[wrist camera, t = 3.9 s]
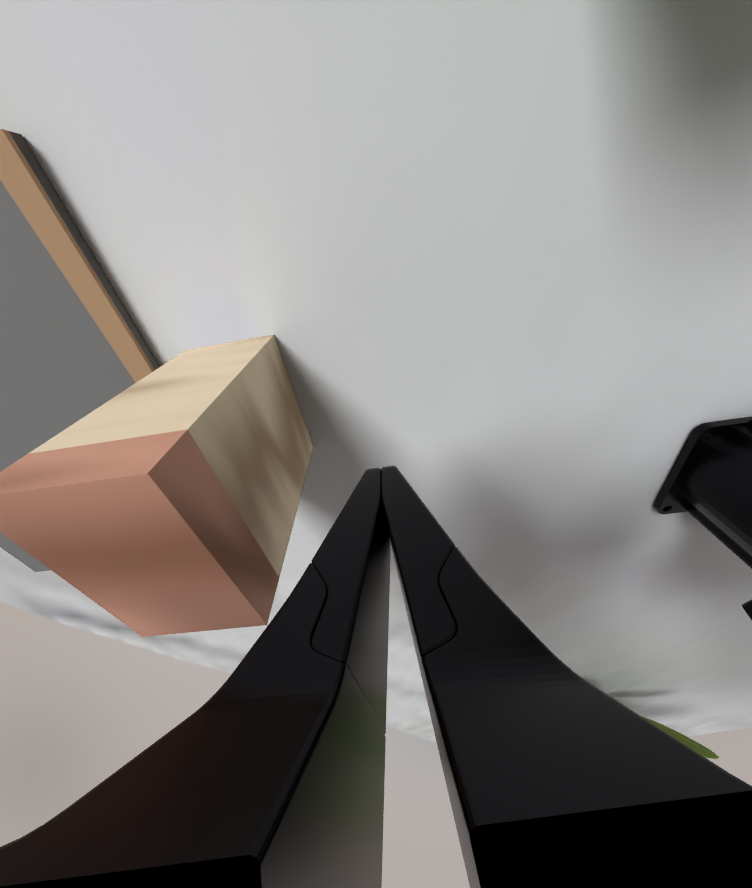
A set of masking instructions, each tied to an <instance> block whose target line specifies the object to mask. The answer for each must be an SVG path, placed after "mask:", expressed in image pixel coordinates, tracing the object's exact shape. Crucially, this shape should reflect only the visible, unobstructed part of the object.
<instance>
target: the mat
mask: <svg viewBox="0 0 752 888" xmlns="http://www.w3.org/2000/svg"><path fill="white" fill-rule="evenodd" d="M159 367H160V366H159V364H158V363H157V361H156V359H155V358H154V356H153V354H152V353H151V351H150V349H149V348H148V346H147V344H146V343H145V341H144V339H143V338H142V336H141V334H140V333H139V331H138V329H137V327H136V326H135V324H134V322H133V321H132V319H131V317H130V316H129V314H128V312H127V311H126V309H125V307H124V306H123V304H122V302H121V301H120V299H119V297H118V296H117V294H116V292H115V291H114V289H113V287H112V286H111V284H110V282H109V281H108V279H107V277H106V276H105V274H104V272H103V271H102V269H101V267H100V266H99V264H98V262H97V261H96V259H95V257H94V256H93V254H92V252H91V250H90V249H89V247H88V245H87V244H86V242H85V240H84V239H83V237H82V235H81V234H80V232H79V230H78V229H77V227H76V225H75V224H74V222H73V220H72V219H71V217H70V215H69V214H68V212H67V210H66V209H65V207H64V205H63V204H62V202H61V200H60V199H59V197H58V195H57V194H56V192H55V190H54V189H53V187H52V185H51V184H50V182H49V180H48V179H47V177H46V175H45V174H44V172H43V170H42V168H41V167H40V165H39V163H38V162H37V160H36V158H35V157H34V155H33V153H32V152H31V150H30V148H29V147H28V145H27V143H26V142H25V140H24V138H23V137H22V135H21V134H18V133H14V132H10V131H6V130H3V129H1V130H0V472H1V471H2V470H4V469H5V468H7V467H9V466H10V465H12V464H13V463H15V462H16V461H18V460H19V459H21V458H22V457H24V456H25V455H27V454H28V453H30V452H31V451H33V450H34V449H36V448H37V447H39V446H41V445H42V444H44V443H45V442H47V441H48V440H50V439H51V438H53V437H54V436H56V435H57V434H59V433H60V432H62V431H63V430H65V429H66V428H68V427H69V426H71V425H73V424H74V423H76V422H77V421H79V420H80V419H82V418H83V417H85V416H86V415H88V414H89V413H91V412H92V411H94V410H95V409H97V408H98V407H100V406H101V405H103V404H105V403H106V402H108V401H109V400H111V399H112V398H114V397H115V396H117V395H118V394H120V393H121V392H123V391H124V390H126V389H127V388H129V387H130V386H132V385H133V384H135V383H137V382H138V381H140V380H141V379H143V378H144V377H146V376H147V375H149V374H150V373H152V372H153V371H155V370H156V369H158V368H159ZM0 547H1V548H2V549H4V550H5V551H7V552H8V553H9V554H11V555H12V556H14V557H15V558H17V559H18V560H19V561H21V562H22V563H24V564H25V565H27V566H28V567H29V568H31V569H32V570H34V571H35V572H38V571H47V570H51V569H49V568H48V567H47V566H45V565H44V564H43V563H41V562H40V561H38V560H37V559H36V558H34V557H33V556H32V555H30V554H29V553H28V552H26V551H25V550H24V549H22V548H21V547H19V546H18V545H17V544H15V543H14V542H13V541H11V540H10V539H9V538H7V537H6V536H4V535H3V534H2V533H0Z"/></svg>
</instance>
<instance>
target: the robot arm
mask: <svg viewBox="0 0 752 888" xmlns="http://www.w3.org/2000/svg"><path fill="white" fill-rule="evenodd" d="M653 507H654V509H655V510H656V511H657V512H658V513H660V514H670V513H679V512H689V513H690V514H691V515H692V516H693V517H695V518H696V519H697V520H698V521H699V522H700V523H701V524H702V525H703V526H705V527H706V528H707V529H708V530H709V531H710V532H711V533H712V534H714V535H715V536H716V537H717V538H718V539H719V540H720V541H721V542H723V543H724V544H725V545H726V546H727V547H728V548H729V549H730V550H732V551H733V552H734V553H735V554H736V555H737V556H738V557H739V558H740V559H742V560H743V561H744V562H745V563H746V564H747V565H748V566H749V567H751V568H752V417H745V418H738V419H730V420H723V421H716V422H708V423H704V424H701V425H699V426H698V427H696V428H695V429H694V430H693V432H692V434H691V435H690V437H689V439H688V441H687V443H686V445H685V447H684V449H683V451H682V452H681V454H680V456H679V458H678V460H677V462H676V464H675V466H674V468H673V470H672V471H671V473H670V475H669V477H668V479H667V481H666V483H665V485H664V487H663V488H662V490H661V492H660V494H659V496H658V498H657V500H656V502H655V504H654V506H653ZM390 540H391V545H392V550H393V554H394V559H395V563H396V567H397V572H398V576H399V580H400V585H401V589H402V593H403V598H404V602H405V606H406V611H407V615H408V619H409V624H410V628H411V632H412V637H413V641H414V645H415V650H416V654H417V658H418V663H419V667H420V671H421V676H422V680H423V685H424V689H425V693H426V698H427V702H428V706H429V711H430V715H431V719H432V724H433V728H434V732H435V737H436V741H437V745H438V750H439V754H440V758H441V763H442V767H443V771H444V776H445V780H446V784H447V788H448V792H449V797H450V802H451V806H452V810H453V814H454V819H455V823H456V828H457V832H458V836H459V841H460V845H461V850H462V854H463V858H464V862H465V867H466V871H467V875H468V880H469V884H470V888H752V786H750V785H749V784H747V783H745V782H744V781H742V780H740V779H738V778H737V777H735V776H733V775H732V774H730V773H728V772H727V771H725V770H723V769H722V768H720V767H719V766H717V765H716V764H714V763H713V762H711V761H709V760H708V759H706V758H705V757H703V756H702V755H700V754H699V753H697V752H695V751H694V750H692V749H691V748H689V747H688V746H686V745H685V744H683V743H681V742H680V741H678V740H677V739H675V738H674V737H672V736H671V735H669V734H667V733H666V732H664V731H663V730H661V729H660V728H658V727H657V726H655V725H653V724H652V723H650V722H649V721H647V720H646V719H644V718H643V717H641V716H639V715H638V714H636V713H635V712H633V711H632V710H630V709H629V708H627V707H625V706H624V705H622V704H621V703H619V702H618V701H616V700H614V699H613V698H611V697H610V696H608V695H607V694H605V693H604V692H602V691H600V690H599V689H597V688H596V687H594V686H593V685H591V684H590V683H588V682H587V681H585V680H584V679H583V678H581V677H580V676H578V675H577V674H576V673H574V672H573V671H572V670H571V669H570V668H568V667H567V666H566V665H565V664H564V663H563V662H562V661H561V660H559V659H558V658H557V657H556V656H555V655H554V654H553V653H552V652H551V651H550V650H549V649H548V648H547V647H546V646H545V645H544V644H543V643H542V642H541V641H540V640H539V639H538V638H537V637H536V636H535V634H534V633H533V632H532V631H531V630H530V629H529V628H528V627H527V626H526V625H525V624H524V623H523V622H522V621H521V620H520V619H519V618H518V617H517V616H516V615H515V614H514V613H513V612H512V611H511V609H510V608H509V607H508V606H507V605H506V604H505V603H504V602H503V601H502V600H501V599H500V598H499V597H498V596H497V595H496V594H495V593H494V592H493V590H492V589H491V588H490V587H489V586H488V585H487V584H486V583H485V582H484V581H483V579H482V578H481V577H480V576H479V575H478V574H477V572H476V571H475V570H474V569H473V567H472V566H471V565H470V564H469V562H468V561H467V560H466V559H465V557H464V556H463V555H462V553H461V552H460V551H459V549H458V548H457V547H455V544H454V543H453V542H452V540H451V539H450V538H449V536H448V535H447V534H446V532H445V531H444V530H443V528H442V527H441V526H440V524H439V523H438V522H437V520H436V519H435V518H434V516H433V515H432V514H431V512H430V511H429V510H428V508H427V507H426V506H425V504H424V503H423V502H422V500H421V499H420V498H419V496H418V495H417V494H416V492H415V491H414V490H413V488H412V487H411V486H410V485H409V483H408V482H407V481H406V479H405V478H404V477H403V475H402V474H401V473H400V471H399V470H398V469H397V467H396V466H388V467H383V468H382V469H380V468H373V469H367V470H366V471H365V473H364V475H363V476H362V478H361V480H360V481H359V483H358V485H357V486H356V488H355V490H354V491H353V493H352V495H351V496H350V498H349V500H348V501H347V503H346V505H345V506H344V508H343V509H342V511H341V513H340V514H339V516H338V518H337V519H336V521H335V523H334V524H333V526H332V528H331V529H330V531H329V533H328V534H327V536H326V538H325V539H324V541H323V543H322V544H321V546H320V548H319V549H318V551H317V553H316V554H315V556H314V558H313V559H312V563H310V564H309V566H308V567H307V569H306V571H305V572H304V574H303V576H302V577H301V579H300V580H299V582H298V584H297V585H296V587H295V588H294V590H293V591H292V593H291V594H290V596H289V597H288V599H287V600H286V602H285V603H284V604H283V606H282V607H281V609H280V610H279V611H278V613H277V614H276V616H275V617H274V618H273V620H272V621H271V622H270V624H269V625H268V626H267V628H266V629H265V630H264V632H263V633H262V634H261V636H260V637H259V638H258V640H257V641H256V643H255V644H254V645H253V647H252V648H251V649H250V651H249V652H248V653H247V655H246V656H245V657H244V659H243V660H242V661H241V663H240V664H239V665H238V667H237V668H236V669H235V671H234V672H233V673H232V675H231V676H230V677H229V678H228V680H227V681H226V682H225V683H224V684H223V686H222V687H221V688H220V689H219V690H218V691H217V692H216V693H215V694H214V695H213V696H212V697H211V698H210V700H208V701H207V702H206V703H205V704H204V705H203V706H202V707H201V708H200V709H199V710H197V711H196V712H195V713H194V714H192V715H191V716H190V717H188V718H187V719H186V720H184V721H183V722H182V723H180V724H179V725H178V726H176V727H175V728H174V729H172V730H171V731H170V732H168V733H167V734H166V735H165V736H163V737H162V738H161V739H159V740H158V741H156V742H155V743H154V744H152V745H151V746H150V747H148V748H147V749H146V750H144V751H143V752H142V753H140V754H139V755H138V756H136V757H135V758H134V759H132V760H131V761H130V762H128V763H127V764H126V765H124V766H123V767H122V768H120V769H119V770H118V771H116V772H115V773H114V774H112V775H111V776H110V777H108V778H107V779H106V780H104V781H103V782H102V783H100V784H99V785H98V786H96V787H95V788H93V789H92V790H91V791H89V792H88V793H87V794H86V795H84V796H83V797H81V798H80V799H79V800H77V801H76V802H75V803H73V804H72V805H71V806H69V807H68V808H67V809H65V810H64V811H62V812H61V813H60V814H58V815H57V816H55V817H54V818H52V819H51V820H49V821H48V822H47V823H45V824H44V825H42V826H40V827H39V828H37V829H35V830H34V831H32V832H30V833H29V834H27V835H25V836H23V837H21V838H20V839H17V840H15V841H13V842H11V843H8V844H6V845H4V846H2V847H0V888H381V882H382V845H383V843H382V842H383V809H384V772H385V732H386V697H387V660H388V623H389V586H390ZM742 607H743V609H744V610H745V611H746V613H747V614H748V615H749V617H750V618H751V620H752V600H750V601H748V602H746V603H744V604H742Z"/></svg>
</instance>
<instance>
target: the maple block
mask: <svg viewBox="0 0 752 888" xmlns="http://www.w3.org/2000/svg"><path fill="white" fill-rule="evenodd" d="M312 451H313V444H312V442H311V439H310V436H309V433H308V430H307V427H306V424H305V422H304V419H303V416H302V413H301V410H300V407H299V404H298V401H297V399H296V396H295V393H294V390H293V387H292V384H291V381H290V379H289V376H288V373H287V370H286V367H285V364H284V361H283V358H282V356H281V353H280V350H279V347H278V344H277V341H276V338H275V335H269V336H263V337H257V338H252V339H246V340H240V341H234V342H229V343H223V344H217V345H212V346H206V347H200V348H194V349H189V350H185V351H184V352H182V353H181V354H179V355H178V356H176V357H175V358H173V359H172V360H170V361H169V362H167V363H165V364H164V365H162V366H161V367H159V368H158V369H156V370H155V371H153V372H152V373H150V374H149V375H147V376H146V377H144V378H143V379H141V380H140V381H138V382H137V383H135V384H133V385H132V386H130V387H129V388H127V389H126V390H124V391H123V392H121V393H120V394H118V395H117V396H115V397H114V398H112V399H111V400H109V401H108V402H106V403H105V404H103V405H101V406H100V407H98V408H97V409H95V410H94V411H92V412H91V413H89V414H88V415H86V416H85V417H83V418H82V419H80V420H79V421H77V422H76V423H74V424H73V425H71V426H69V427H68V428H66V429H65V430H63V431H62V432H60V433H59V434H57V435H56V436H54V437H53V438H51V439H50V440H48V441H47V442H45V443H44V444H42V445H41V446H39V447H37V448H36V449H34V450H33V451H31V452H30V453H28V454H27V455H25V456H24V457H22V458H21V459H19V460H18V461H16V462H15V463H13V464H12V465H10V466H9V467H7V468H5V469H4V470H2V471H1V472H0V533H2V534H3V535H4V536H6V537H7V538H9V539H10V540H11V541H13V542H14V543H15V544H17V545H18V546H19V547H21V548H22V549H24V550H25V551H26V552H28V553H29V554H30V555H32V556H33V557H34V558H36V559H37V560H38V561H40V562H41V563H43V564H44V565H45V566H47V567H48V568H49V569H51V570H52V571H53V572H55V573H56V574H58V575H59V576H60V577H62V578H63V579H64V580H66V581H67V582H68V583H70V584H71V585H72V586H74V587H75V588H77V589H78V590H79V591H81V592H82V593H83V594H85V595H86V596H87V597H89V598H90V599H92V600H93V601H94V602H96V603H97V604H98V605H100V606H101V607H102V608H104V609H105V610H106V611H108V612H109V613H111V614H112V615H113V616H115V617H116V618H117V619H119V620H120V621H121V622H123V623H124V624H126V625H127V626H128V627H130V628H131V629H132V630H134V631H135V632H136V633H138V634H139V635H140V636H142V637H145V636H155V635H166V634H176V633H187V632H197V631H208V630H219V629H229V628H240V627H250V626H261V625H267V623H268V619H269V615H270V611H271V607H272V603H273V600H274V596H275V592H276V588H277V584H278V581H279V577H280V573H281V569H282V565H283V561H284V558H285V554H286V550H287V546H288V542H289V539H290V535H291V531H292V527H293V523H294V519H295V516H296V512H297V508H298V504H299V500H300V496H301V493H302V489H303V485H304V481H305V477H306V474H307V470H308V466H309V462H310V458H311V454H312Z"/></svg>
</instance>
